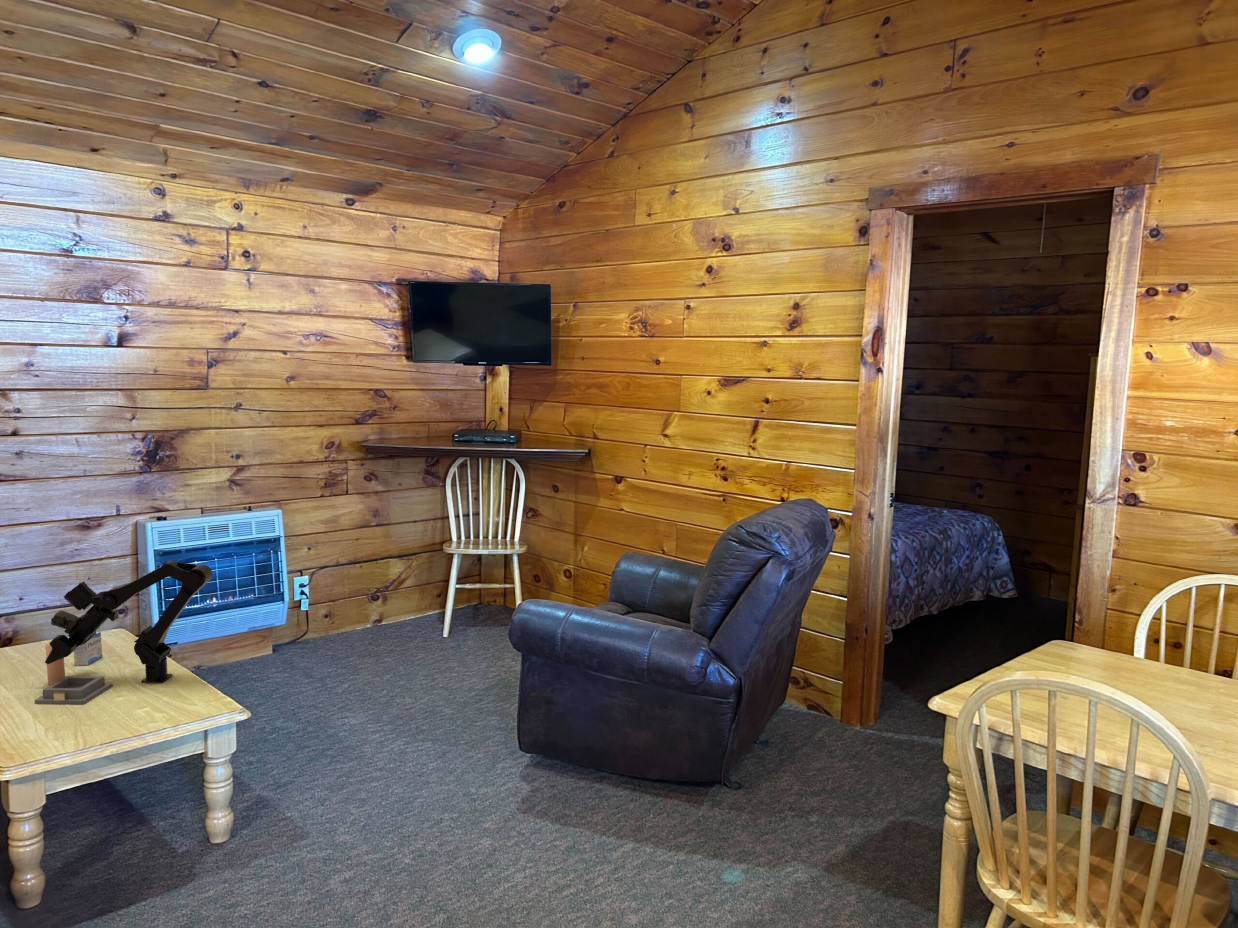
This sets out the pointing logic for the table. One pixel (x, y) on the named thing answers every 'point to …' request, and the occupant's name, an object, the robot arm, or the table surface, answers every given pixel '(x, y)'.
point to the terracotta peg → (54, 668)
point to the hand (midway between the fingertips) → (53, 657)
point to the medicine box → (89, 651)
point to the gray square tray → (74, 690)
